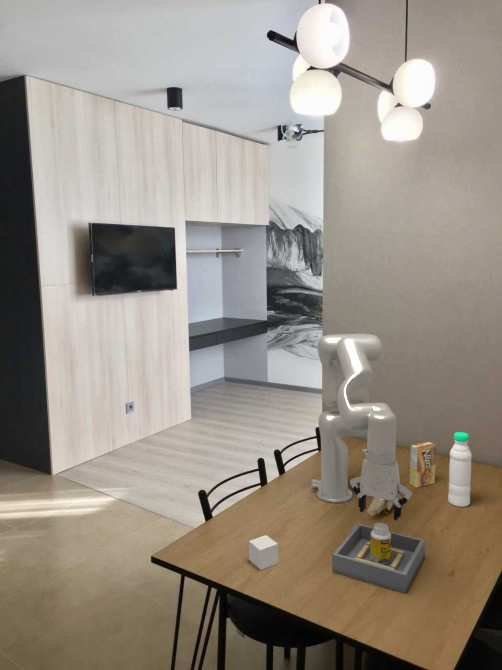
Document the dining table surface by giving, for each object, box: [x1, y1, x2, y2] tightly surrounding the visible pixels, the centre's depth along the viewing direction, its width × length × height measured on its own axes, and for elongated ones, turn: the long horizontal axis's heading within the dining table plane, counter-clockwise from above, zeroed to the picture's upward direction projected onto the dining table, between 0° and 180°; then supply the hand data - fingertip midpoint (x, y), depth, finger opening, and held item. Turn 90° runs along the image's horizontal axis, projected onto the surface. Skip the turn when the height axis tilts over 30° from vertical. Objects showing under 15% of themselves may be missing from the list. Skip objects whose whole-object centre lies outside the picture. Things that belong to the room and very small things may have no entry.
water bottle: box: [447, 431, 473, 508], centre depth 188 cm, size 7×7×25 cm
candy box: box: [409, 441, 437, 488], centre depth 205 cm, size 9×4×15 cm, turn 116°
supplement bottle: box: [370, 522, 391, 565], centre depth 153 cm, size 6×6×10 cm
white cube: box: [248, 534, 279, 571], centre depth 156 cm, size 6×6×6 cm
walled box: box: [331, 523, 426, 594], centre depth 154 cm, size 20×20×5 cm
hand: (379, 514), depth 153 cm, fingers open, 9 cm apart
